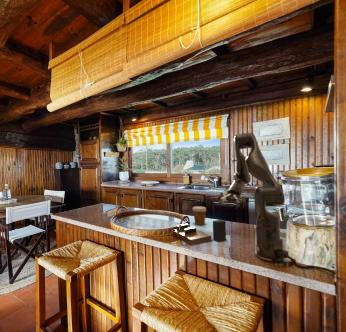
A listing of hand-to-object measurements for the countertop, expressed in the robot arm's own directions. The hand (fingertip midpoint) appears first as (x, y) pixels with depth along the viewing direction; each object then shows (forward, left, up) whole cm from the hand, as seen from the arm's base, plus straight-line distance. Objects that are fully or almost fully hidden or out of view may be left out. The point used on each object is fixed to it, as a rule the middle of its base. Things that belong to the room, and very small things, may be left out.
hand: (227, 205), depth 125 cm
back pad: (-1, +8, -19) cm, 21 cm away
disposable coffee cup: (+28, -3, -19) cm, 34 cm away
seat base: (+9, +20, -19) cm, 29 cm away
